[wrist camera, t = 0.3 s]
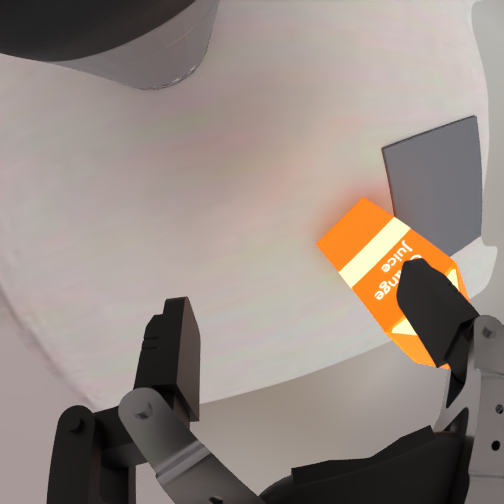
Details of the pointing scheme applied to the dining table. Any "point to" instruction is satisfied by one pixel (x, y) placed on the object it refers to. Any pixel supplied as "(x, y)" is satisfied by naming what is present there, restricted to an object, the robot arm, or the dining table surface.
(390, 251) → the orange juice
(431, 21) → the dining table surface
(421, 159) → the mat
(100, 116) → the dining table surface
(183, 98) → the dining table surface
